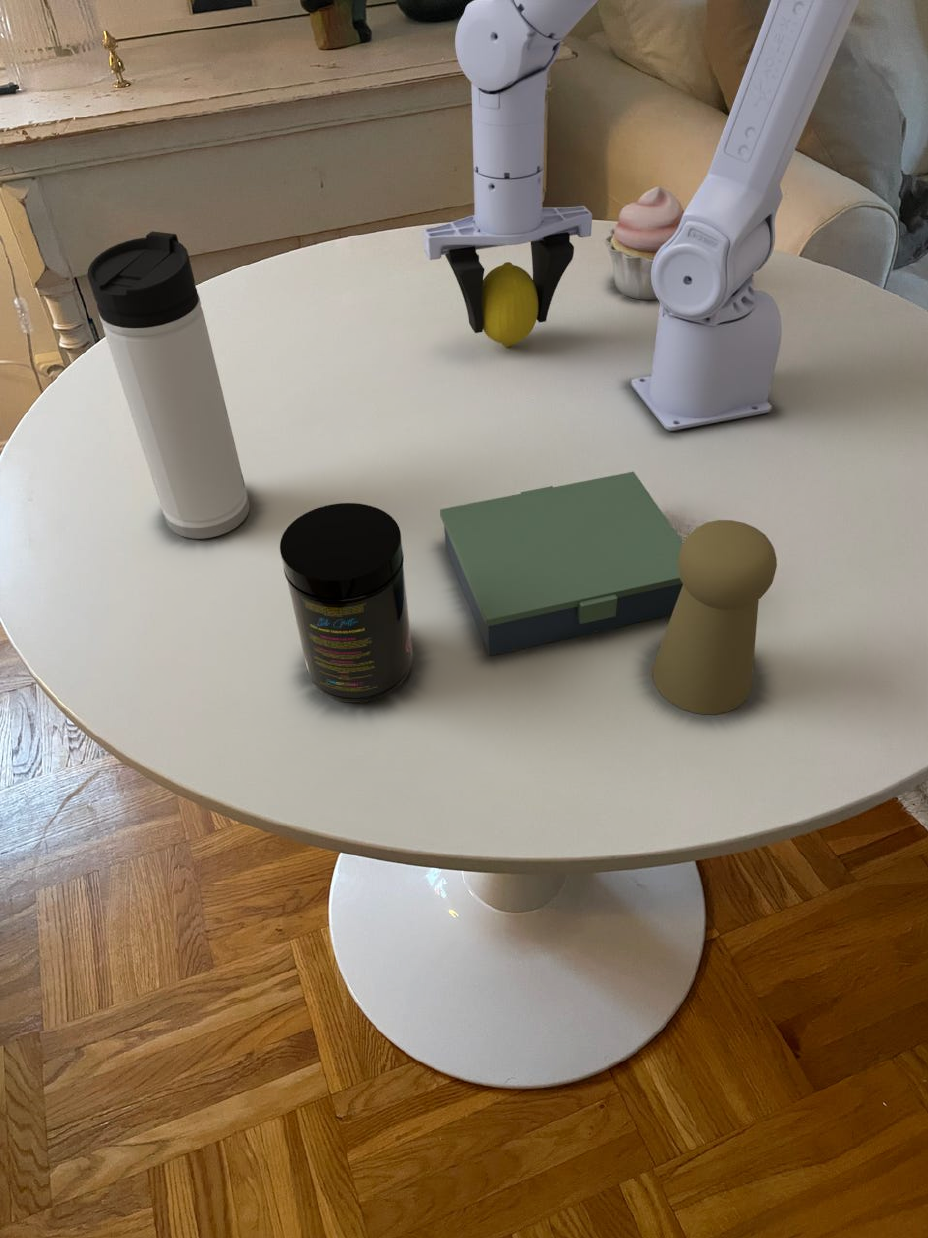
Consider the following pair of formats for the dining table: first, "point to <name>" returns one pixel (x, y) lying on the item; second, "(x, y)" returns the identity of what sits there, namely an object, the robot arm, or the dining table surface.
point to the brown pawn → (715, 618)
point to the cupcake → (642, 240)
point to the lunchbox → (563, 561)
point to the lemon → (509, 304)
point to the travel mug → (171, 382)
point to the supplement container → (349, 599)
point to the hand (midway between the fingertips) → (508, 322)
